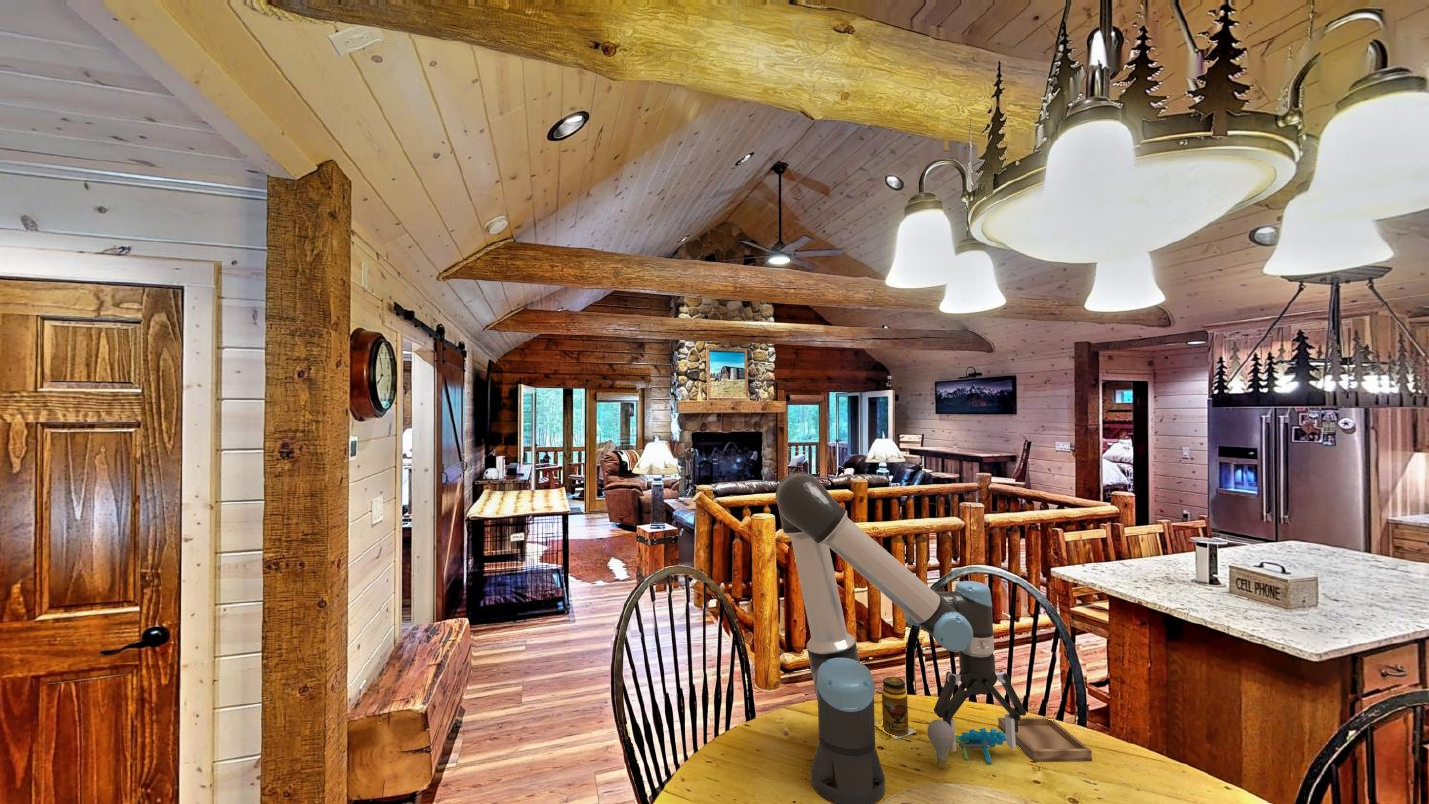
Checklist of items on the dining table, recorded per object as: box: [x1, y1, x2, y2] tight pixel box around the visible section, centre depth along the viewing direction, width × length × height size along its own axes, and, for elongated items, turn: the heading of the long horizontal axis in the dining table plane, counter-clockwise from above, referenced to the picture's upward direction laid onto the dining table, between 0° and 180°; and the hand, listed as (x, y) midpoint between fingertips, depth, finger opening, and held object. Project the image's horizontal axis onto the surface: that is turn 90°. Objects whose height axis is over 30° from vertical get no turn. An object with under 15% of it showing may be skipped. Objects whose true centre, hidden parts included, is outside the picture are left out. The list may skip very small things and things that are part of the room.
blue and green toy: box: [955, 728, 1007, 765], centre depth 124 cm, size 11×6×10 cm
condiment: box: [875, 676, 918, 740], centre depth 137 cm, size 7×8×12 cm
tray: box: [997, 716, 1093, 763], centre depth 130 cm, size 13×15×2 cm
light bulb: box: [927, 718, 954, 770], centre depth 120 cm, size 6×6×10 cm
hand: (981, 747), depth 125 cm, fingers open, 13 cm apart
